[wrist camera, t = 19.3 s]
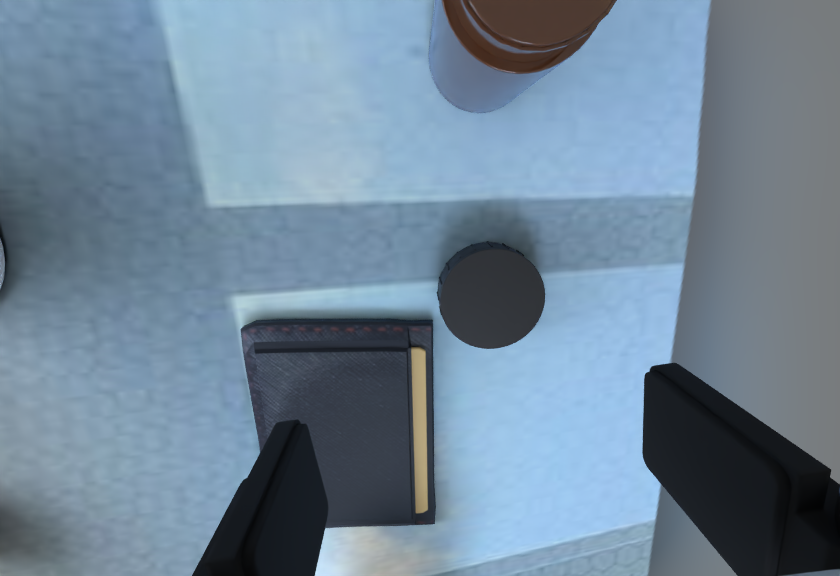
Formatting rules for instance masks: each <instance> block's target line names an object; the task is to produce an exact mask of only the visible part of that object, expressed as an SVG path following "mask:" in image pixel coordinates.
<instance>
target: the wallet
mask: <svg viewBox="0 0 840 576" xmlns="http://www.w3.org/2000/svg"><path fill="white" fill-rule="evenodd" d="M241 337H242V346H243V354H244V360H245V366H246V372H247V378H248V384H249V389H250V395H251V401H252V406H253V412H254V417H255V423H256V428H257V434H258V440H259V447H260V452H261V451H262V449H263V447H264V445H265V443H266V441H267V439H268V437H269V435H270V433H271V431H272V429H273V427H274V425H275V424H276V423H277V422H281V421H288V420H294V419H298V420H299V421H300V422H301V424H307V426H308V429H309V432H310V436H311V440H312V444H313V447H314V451H315V455H316V458H317V462H318V466H319V470H320V473H321V477H322V481H323V485H324V488H325V492H326V496H327V500H328V517H327V522H326V526H325V528H334V527H358V526H402V525H427V524H435V508H436V505H435V488H434V408H433V321H432V320H399V319H277V320H256V321H254V322H252V323H250V324H248V325H246V326H244V327H243V328H241Z"/></svg>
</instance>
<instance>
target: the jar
mask: <svg viewBox="0 0 840 576" xmlns="http://www.w3.org/2000/svg"><path fill="white" fill-rule="evenodd" d="M616 1H617V0H435V5H434V13H433V21H432V29H431V37H430V45H429V66H430V71H431V75H432V78H433V80H434V83H435V85H436V87H437V88H438V90H439V91H440V93H441V94H442V95H443V97H444V98H445V99H446V100H447V101H449V102H450V103H451V104H452V105H454V106H456V107H457V108H459V109H462V110H464V111H468V112H472V113H486V112H491V111H494V110H497V109H499V108H501V107H504V106H505V105H507V104H508V103H510V102H511V101H512V100H514V99H515V98H516V97H518V96H519V95H520V94H521V93H523V92H524V91H525V90H527V89H528V88H529V87H531V86H532V85H533V84H535V83H536V82H537V81H539V80H540V79H541V78H543V77H544V76H545V75H547V74H548V73H549V72H551V71H552V70H553V69H555V68H556V67H557V66H559V65H560V64H561V63H562V62H564V61H565V60H566V59H568V58H569V57H570V56H572V55H573V54H574V53H575V52H576V51H577V50H579V49H580V48H581V47H582V45H583V44H584V43H585V42H586V41H587V40H588V39H589V37H590V36H591V35H592V33H593V32H594V30H595V29H596V27H597V25H598V24H599V22H600V21H601V20H602V19H603V18H604V17H605V16H606V15H608V13H609V12H610V10H611V9H612V7H613V5H614V4H615V2H616Z"/></svg>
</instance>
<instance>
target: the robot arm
mask: <svg viewBox="0 0 840 576" xmlns="http://www.w3.org/2000/svg"><path fill="white" fill-rule="evenodd" d="M4 272H5V258H4V250H3V245H2V242H1V239H0V289H1V286H2V283H3V280H4ZM643 459H644V461H645V464H646V466H647V467H648V469H649V470H650V471H651V472H652V473H653V475H654V476H655V477H656V478H657V479H658V481H659V482H660V483H661V484H662V485H663V487H664V488H665V489H666V490H667V491H668V493H669V494H670V495H671V496H672V497H673V499H674V500H675V501H676V502H677V503H678V505H679V506H680V507H681V508H682V509H683V511H684V512H685V513H686V514H687V515H688V517H689V518H690V519H691V520H692V521H693V523H694V524H695V525H696V526H697V527H698V529H699V530H700V531H701V532H702V534H704V536H705V537H706V538H707V539H708V541H709V542H710V543H711V544H712V546H713V547H714V548H715V549H716V550H717V551H718V553H719V554H720V555H721V556H722V558H723V559H724V560H725V561H726V562H727V564H728V565H729V566H730V567H731V568H732V570H733V571H734V572H735V573H736V574H737V575H738V576H840V484H838V483H837V482H835V481H834V480H833V479H831V478H830V474H831V469H829V468H828V467H826V466H825V465H823V464H822V463H821V462H819V461H818V460H816V459H815V458H813V457H812V456H811V455H809V454H808V453H806V452H805V451H803V450H802V449H800V448H799V447H798V446H796V445H795V444H793V443H792V442H790V441H789V440H787V439H786V438H784V437H783V436H781V435H780V434H779V433H777V432H776V431H774V430H773V429H771V428H770V427H769V426H767V425H766V424H764V423H763V422H761V421H760V420H758V419H757V418H755V417H754V416H753V415H751V414H750V413H748V412H747V411H745V410H744V409H742V408H741V407H740V406H738V405H737V404H735V403H734V402H732V401H731V400H729V399H728V398H727V397H725V396H724V395H722V394H721V393H719V392H718V391H716V390H715V389H713V388H712V387H711V386H709V385H708V384H706V383H705V382H703V381H702V380H701V379H699V378H698V377H696V376H695V375H693V374H692V373H690V372H689V371H687V370H686V369H684V368H683V367H681V366H680V365H679V364H677V363H669V364H662V365H656V366H652V367H651V369H650V372H647V373H646V374H645V378H644V415H643ZM327 517H328V500H327V496H326V492H325V488H324V485H323V481H322V477H321V473H320V470H319V466H318V462H317V458H316V455H315V451H314V447H313V444H312V440H311V436H310V432H309V429H308V426H307V424H301V422H300V421H299V420H298V419H294V420H288V421H281V422H277V423H276V424H275V425H274V427H273V429H272V431H271V433H270V435H269V437H268V439H267V441H266V443H265V445H264V447H263V449H262V451H261V452H260V454H259V456H258V458H257V460H256V462H255V464H254V466H253V468H252V470H251V472H250V474H249V476H248V478H246V479H244V480H243V481H242V483H241V484H240V486H239V488H238V490H237V491H236V493H235V495H234V497H233V499H232V501H231V503H230V505H229V507H228V509H227V510H226V512H225V514H224V516H223V518H222V520H221V522H220V524H219V526H218V527H217V529H216V531H215V533H214V535H213V537H212V539H211V541H210V543H209V545H208V546H207V548H206V550H205V552H204V554H203V556H202V558H201V560H200V562H199V563H198V565H197V567H196V569H195V571H194V573H193V575H192V576H315V571H316V567H317V562H318V558H319V553H320V549H321V544H322V540H323V535H324V531H325V526H326V522H327Z"/></svg>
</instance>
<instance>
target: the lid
mask: <svg viewBox="0 0 840 576" xmlns="http://www.w3.org/2000/svg"><path fill="white" fill-rule="evenodd" d="M437 296H438V300H439V304H440V306H439V307H440V313H441V315H442V317H443V319H444V321H445V324H446V325H447V327H448V328H449V330H450V331H451V332H452V333H453V334H454V335H455V336H456V337H457V338H458V339H460V340H461V341H463V342H465V343H467V344H469V345H471V346H474V347H478V348H485V349H494V348H501V347H505V346H508V345H511V344H513V343H515V342H517V341H519V340H520V339H522V338H523V337H525V336H526V335H527V334H528V333H529V332H530V331H531V330H532V329H533V328H534V326H535V325H536V323H537V322H538V320H539V318H540V316H541V314H542V311H543V308H544V303H545V288H544V284H543V281H542V278H541V276H540V274H539V272H538V270H537V269H536V268H535V266H534V265H533V264H532V263H531V262H530V261H529V260H528V259H526V258H525V257H524V255H523V254H522V253H520V252H519V251H517V250H516V251H515V250H514V249H512V248H510V247H508V246H506V245H505V244H503V243H502V244H499V243H492V242H486V243H478V244H474V245H472V244H471V246H469V247H466V248H464V249H463V250H461V251H459V252H457V254H456V255H454V256H453V257H452V258H451V259H450V260H449V262H448V263H446V266H445V267H444V269H443V271H442V273H441V276H440V277H439V283H438V292H437Z"/></svg>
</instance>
